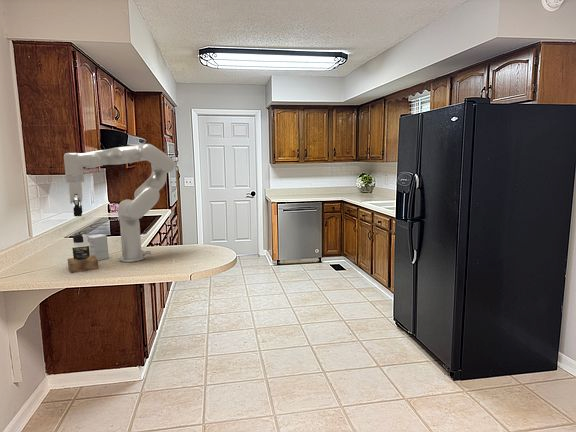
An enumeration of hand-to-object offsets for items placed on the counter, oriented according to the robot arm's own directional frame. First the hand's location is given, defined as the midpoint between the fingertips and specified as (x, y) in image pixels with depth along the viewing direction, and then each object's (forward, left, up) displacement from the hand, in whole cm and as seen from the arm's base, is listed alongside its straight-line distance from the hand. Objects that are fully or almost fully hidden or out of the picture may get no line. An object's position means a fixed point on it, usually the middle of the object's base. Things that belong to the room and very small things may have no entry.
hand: (78, 214), depth 193 cm
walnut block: (0, 0, -27) cm, 27 cm away
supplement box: (-7, -17, -27) cm, 32 cm away
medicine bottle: (0, 0, -22) cm, 22 cm away
